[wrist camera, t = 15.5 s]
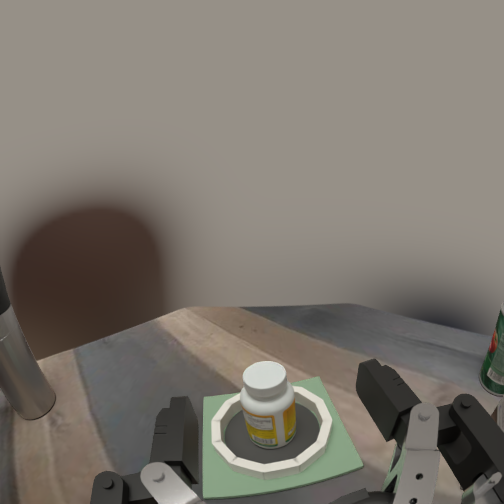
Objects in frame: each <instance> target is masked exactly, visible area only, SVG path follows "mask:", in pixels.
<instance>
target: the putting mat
mask: <svg viewBox="0 0 504 504" xmlns="http://www.w3.org/2000/svg"><path fill="white" fill-rule="evenodd" d="M291 385H292V386H293V388H294V392H295V412H296V433H295V435H294V437H293V439H292V440H291V441H290V442H289V443H288V444H286V445H285V446H282V447H280V448H275V449H266V448H262V447H259V446H257V445H256V444H254V443H253V442H252V441H251V439H250V437H249V434H248V430H247V426H246V422H245V418H244V414H243V410H242V406H241V402H240V393H234V394H227V395H219V396H210V397H204V408H203V498H204V499H225V498H237V497H246V496H254V495H262V494H268V493H274V492H279V491H285V490H289V489H294V488H298V487H303V486H307V485H311V484H315V483H318V482H322V481H325V480H329V479H332V478H335V477H338V476H341V475H344V474H347V473H350V472H353V471H356V470H358V469H361V468H363V466H364V465H363V463H362V461H361V459H360V457H359V455H358V453H357V451H356V449H355V447H354V445H353V443H352V441H351V439H350V437H349V435H348V433H347V431H346V429H345V427H344V425H343V423H342V421H341V419H340V417H339V415H338V413H337V411H336V409H335V407H334V405H333V403H332V401H331V399H330V397H329V395H328V393H327V392H326V390H325V388H324V386H323V384H322V382H321V380H320V378H319V376H318V377H314V378H310V379H306V380H302V381H298V382H293V383H291Z"/></svg>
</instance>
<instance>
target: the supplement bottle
mask: <svg viewBox="0 0 504 504" xmlns="http://www.w3.org/2000/svg"><path fill="white" fill-rule="evenodd" d="M243 382H244V387H243V389H242V391H241V393H240V402H241V406H242V410H243V414H244V418H245V422H246V426H247V430H248V434H249V437H250V439H251V441H252V442H253V443H254V444H256V445H257V446H259V447H262V448H266V449H275V448H280V447H282V446H285V445H286V444H288V443H289V442H290V441H291V440H292V439H293V437H294V435H295V433H296V412H295V392H294V388H293V386H292V385H291V383H290V382H289V381H287V376H286V370H285V368H284V367H283V366H282V365H280V364H279V363H276V362H272V361H262V362H258V363H255V364H253V365H251V366H249V367H248V368H247V369H246V370H245V371H244V373H243Z"/></svg>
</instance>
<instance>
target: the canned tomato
mask: <svg viewBox="0 0 504 504" xmlns="http://www.w3.org/2000/svg"><path fill="white" fill-rule="evenodd" d="M479 379H480V382H481V384H482V386H483V387H484V389H485V390H487V391H488V392H489V393H491V394H493V395H496V396H503V395H504V302H503V303H502V305H501V310H500V313H499V317H498V321H497V324H496V328H495V331H494V334H493V337H492V341H491V343H490V347H489V350H488V352H487V355H486V358H485V360H484V363H483V366H482V368H481V370H480V373H479Z"/></svg>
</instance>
